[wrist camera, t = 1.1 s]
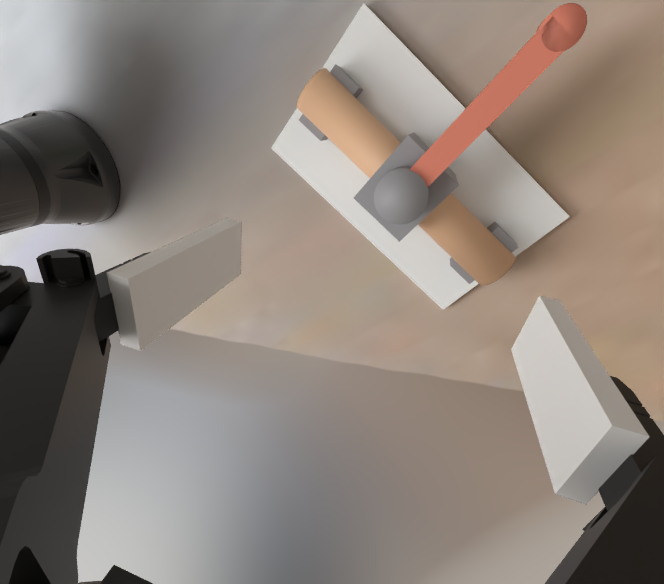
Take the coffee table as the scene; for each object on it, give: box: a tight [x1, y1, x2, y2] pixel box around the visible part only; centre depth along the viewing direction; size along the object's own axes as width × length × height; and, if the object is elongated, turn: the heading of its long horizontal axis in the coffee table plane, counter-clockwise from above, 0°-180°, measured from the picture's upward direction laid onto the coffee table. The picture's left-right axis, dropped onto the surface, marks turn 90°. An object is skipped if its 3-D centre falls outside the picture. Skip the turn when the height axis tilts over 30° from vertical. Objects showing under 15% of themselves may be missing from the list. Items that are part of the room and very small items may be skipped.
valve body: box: [271, 3, 570, 310], centre depth 33 cm, size 28×16×8 cm, turn 50°
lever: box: [374, 3, 587, 225], centre depth 25 cm, size 17×4×2 cm, turn 140°
